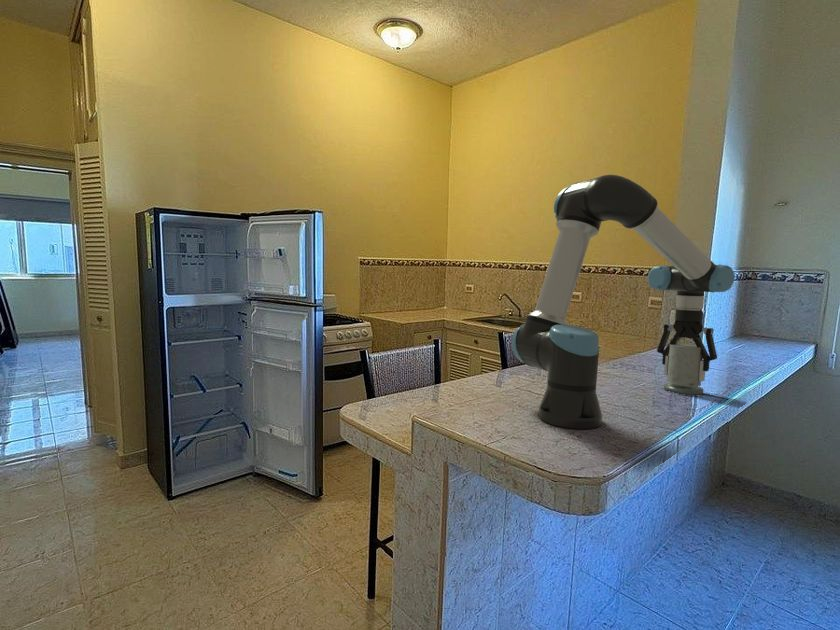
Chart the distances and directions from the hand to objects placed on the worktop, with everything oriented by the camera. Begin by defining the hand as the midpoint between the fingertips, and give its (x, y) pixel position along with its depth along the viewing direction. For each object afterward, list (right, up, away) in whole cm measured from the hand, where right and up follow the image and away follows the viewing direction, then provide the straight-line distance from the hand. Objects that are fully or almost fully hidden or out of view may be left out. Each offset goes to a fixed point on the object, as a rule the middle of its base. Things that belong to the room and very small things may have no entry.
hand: (683, 377), depth 142 cm
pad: (0, -5, 0) cm, 4 cm away
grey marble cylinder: (0, -2, 0) cm, 2 cm away
